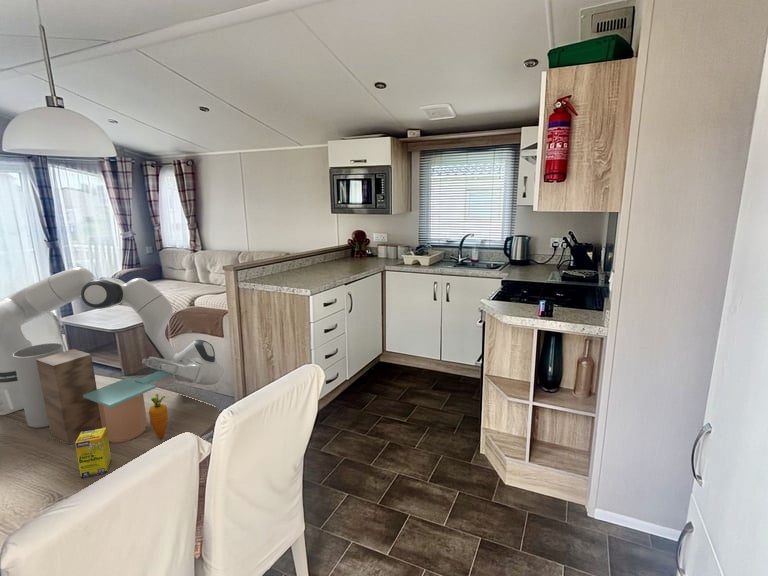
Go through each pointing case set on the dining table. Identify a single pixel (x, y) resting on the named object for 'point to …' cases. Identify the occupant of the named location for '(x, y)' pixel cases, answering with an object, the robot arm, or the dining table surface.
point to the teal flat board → (124, 389)
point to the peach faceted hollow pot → (124, 419)
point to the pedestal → (69, 394)
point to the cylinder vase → (33, 381)
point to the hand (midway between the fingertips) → (152, 363)
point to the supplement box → (93, 452)
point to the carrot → (158, 417)
